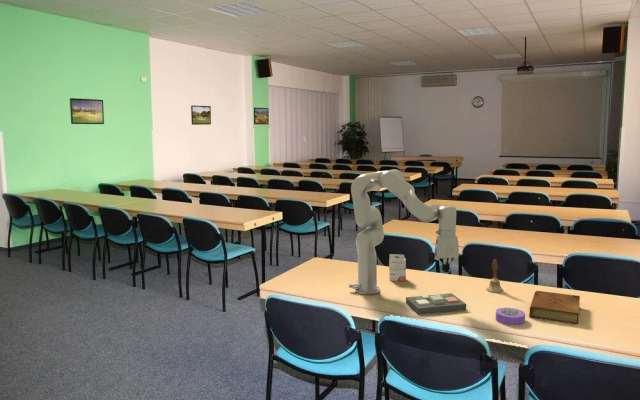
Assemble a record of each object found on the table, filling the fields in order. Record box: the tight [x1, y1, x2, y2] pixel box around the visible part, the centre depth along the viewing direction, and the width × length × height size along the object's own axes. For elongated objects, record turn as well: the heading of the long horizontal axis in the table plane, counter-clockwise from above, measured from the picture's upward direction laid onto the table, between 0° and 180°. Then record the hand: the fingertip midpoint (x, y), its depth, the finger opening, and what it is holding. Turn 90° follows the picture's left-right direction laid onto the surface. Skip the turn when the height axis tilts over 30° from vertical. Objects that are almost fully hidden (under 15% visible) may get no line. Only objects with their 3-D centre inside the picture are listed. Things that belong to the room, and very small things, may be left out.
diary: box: [529, 290, 581, 325], centre depth 219 cm, size 23×19×6 cm
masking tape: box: [495, 307, 526, 327], centre depth 211 cm, size 12×12×4 cm
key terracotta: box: [444, 297, 459, 303], centre depth 228 cm, size 5×5×2 cm
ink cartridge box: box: [388, 253, 407, 282], centre depth 269 cm, size 9×5×15 cm, turn 73°
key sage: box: [429, 294, 444, 304], centre depth 227 cm, size 5×5×2 cm
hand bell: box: [485, 258, 504, 294], centre depth 248 cm, size 8×8×16 cm
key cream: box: [415, 299, 430, 306], centre depth 226 cm, size 5×5×2 cm
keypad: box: [405, 292, 467, 316], centre depth 228 cm, size 23×15×4 cm, turn 100°
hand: (445, 271), depth 229 cm, fingers closed
